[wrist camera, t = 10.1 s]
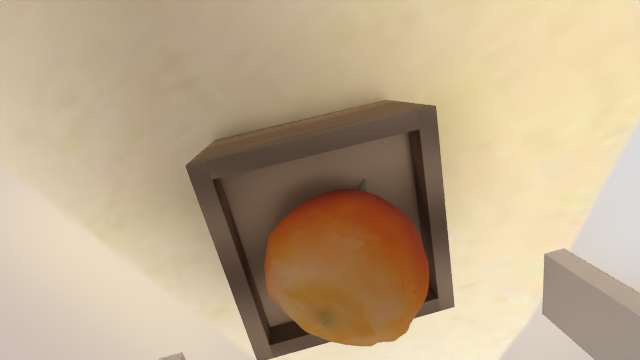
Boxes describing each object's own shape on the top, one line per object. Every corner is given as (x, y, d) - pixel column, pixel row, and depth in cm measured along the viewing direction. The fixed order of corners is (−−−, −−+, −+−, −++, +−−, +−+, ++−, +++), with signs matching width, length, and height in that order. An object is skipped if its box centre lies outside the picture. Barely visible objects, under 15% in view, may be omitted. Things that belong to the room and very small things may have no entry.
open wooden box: (214, 140, 22) (185, 165, 15) (386, 100, 23) (435, 105, 16) (263, 287, 26) (257, 362, 19) (407, 248, 27) (454, 306, 20)
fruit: (454, 238, 18) (461, 377, 12) (346, 263, 23) (310, 376, 16) (388, 127, 16) (354, 231, 10) (281, 179, 20) (209, 274, 14)
